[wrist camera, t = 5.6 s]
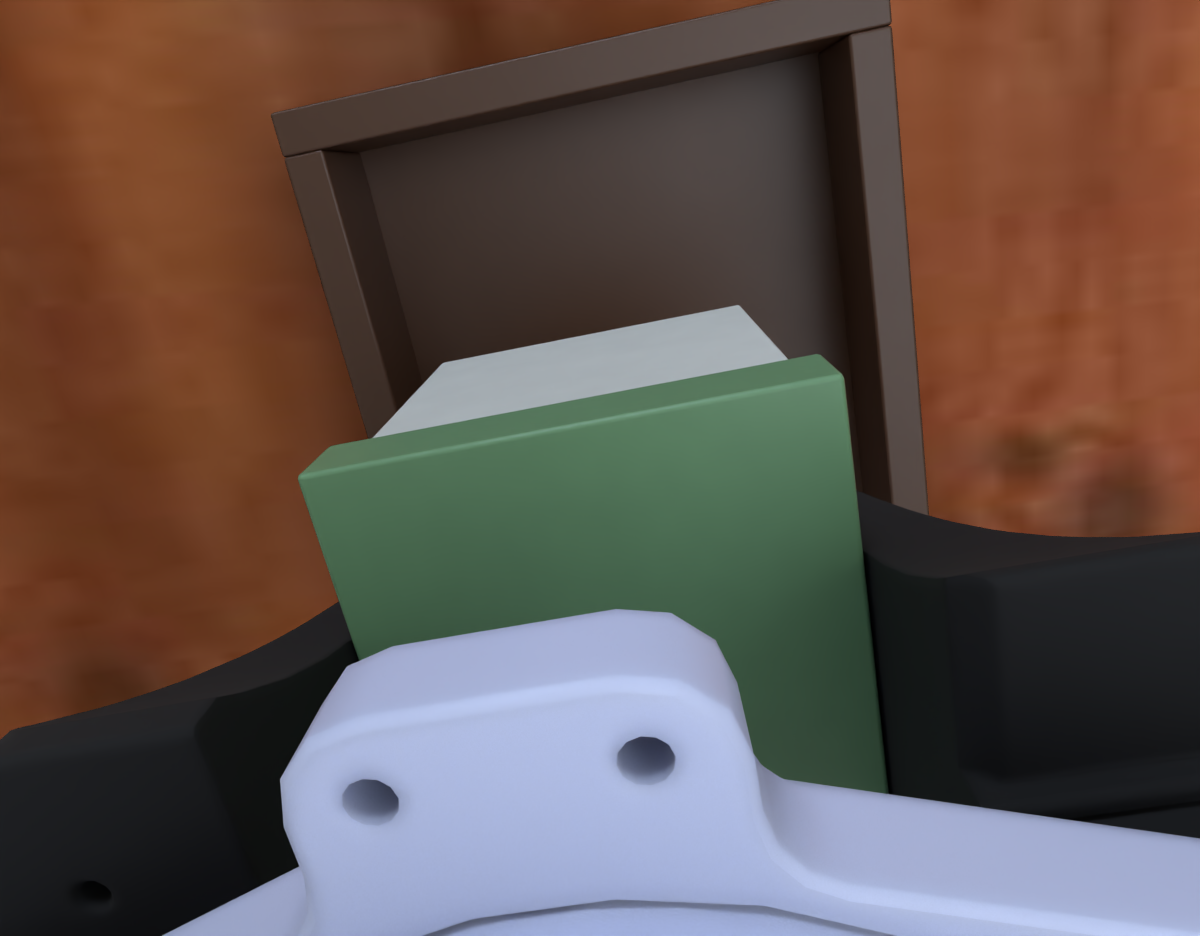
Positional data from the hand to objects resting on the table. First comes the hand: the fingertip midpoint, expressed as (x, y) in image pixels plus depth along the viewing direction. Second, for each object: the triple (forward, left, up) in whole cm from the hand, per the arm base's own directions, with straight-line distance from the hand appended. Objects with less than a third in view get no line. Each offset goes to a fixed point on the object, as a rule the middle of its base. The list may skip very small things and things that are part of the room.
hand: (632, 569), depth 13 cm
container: (0, 0, -2) cm, 2 cm away
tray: (0, 0, -8) cm, 8 cm away
